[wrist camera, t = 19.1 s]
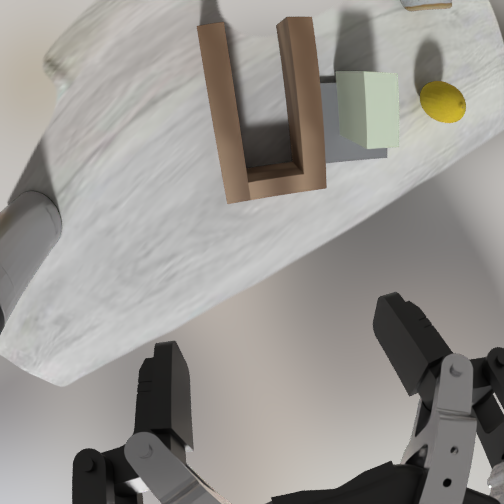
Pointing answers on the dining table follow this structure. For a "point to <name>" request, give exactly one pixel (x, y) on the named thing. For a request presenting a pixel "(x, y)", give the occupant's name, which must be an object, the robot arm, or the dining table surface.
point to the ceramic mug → (426, 4)
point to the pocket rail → (298, 108)
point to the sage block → (368, 108)
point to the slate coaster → (334, 142)
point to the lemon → (442, 102)
